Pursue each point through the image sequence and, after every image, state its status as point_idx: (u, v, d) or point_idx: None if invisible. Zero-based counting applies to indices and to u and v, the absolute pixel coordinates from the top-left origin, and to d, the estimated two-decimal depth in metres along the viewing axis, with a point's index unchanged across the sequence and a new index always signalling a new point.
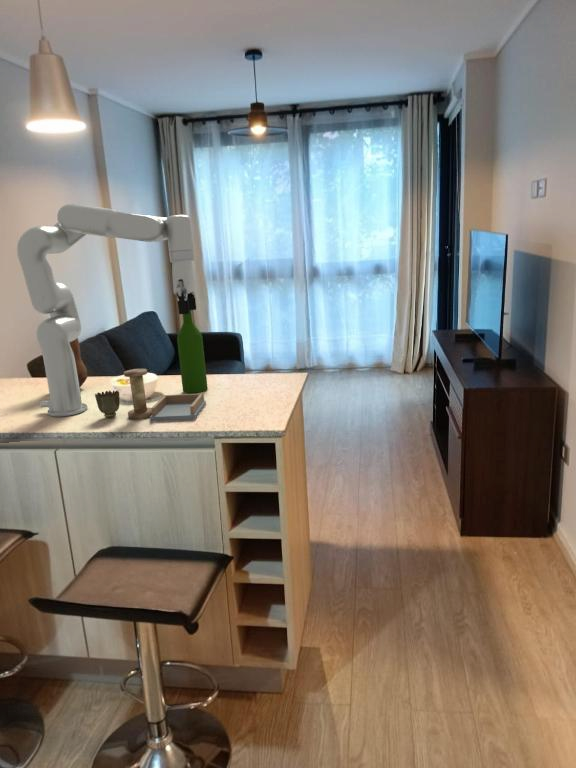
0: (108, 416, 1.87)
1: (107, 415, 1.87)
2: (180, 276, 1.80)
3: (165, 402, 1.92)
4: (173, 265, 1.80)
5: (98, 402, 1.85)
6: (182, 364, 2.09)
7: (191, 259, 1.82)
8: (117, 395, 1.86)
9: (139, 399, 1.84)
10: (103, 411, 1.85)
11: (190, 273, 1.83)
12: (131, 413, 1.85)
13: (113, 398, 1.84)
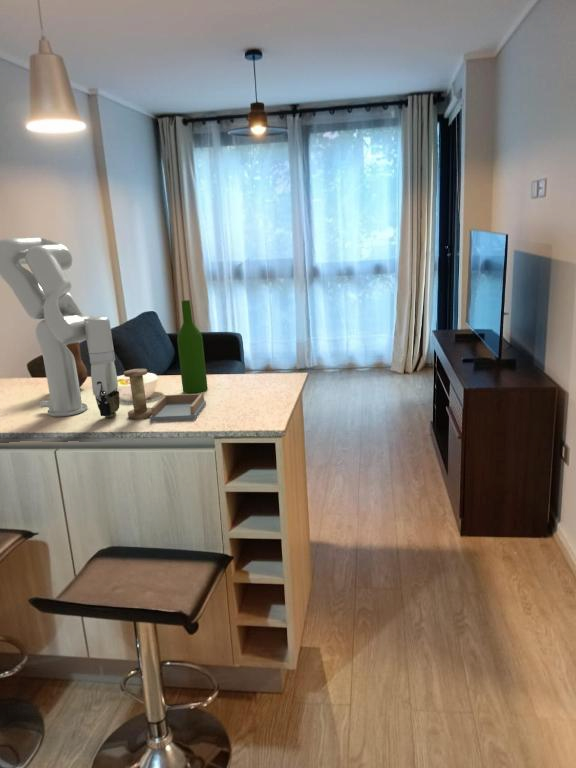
0: (108, 416, 1.86)
1: None
2: (99, 378, 1.80)
3: (165, 402, 1.92)
4: (92, 367, 1.80)
5: None
6: (182, 364, 2.09)
7: (110, 360, 1.82)
8: (117, 395, 1.86)
9: (139, 399, 1.84)
10: None
11: (110, 374, 1.83)
12: (131, 413, 1.85)
13: (113, 398, 1.84)
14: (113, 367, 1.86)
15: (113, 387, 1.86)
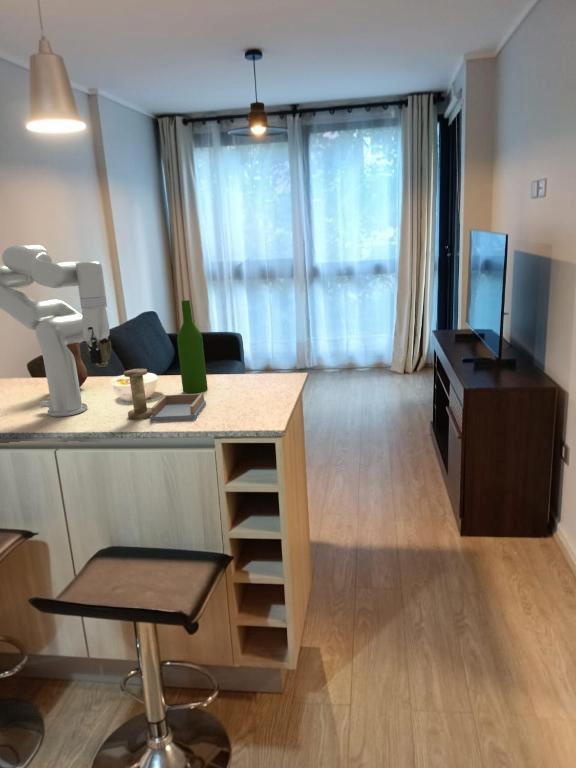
0: (99, 364, 1.83)
1: (98, 363, 1.83)
2: (90, 324, 1.76)
3: (165, 402, 1.92)
4: (83, 312, 1.76)
5: None
6: (182, 364, 2.09)
7: (102, 306, 1.78)
8: (108, 343, 1.82)
9: (139, 399, 1.84)
10: None
11: (101, 320, 1.80)
12: (131, 413, 1.85)
13: (104, 345, 1.80)
14: (105, 314, 1.82)
15: (104, 334, 1.82)
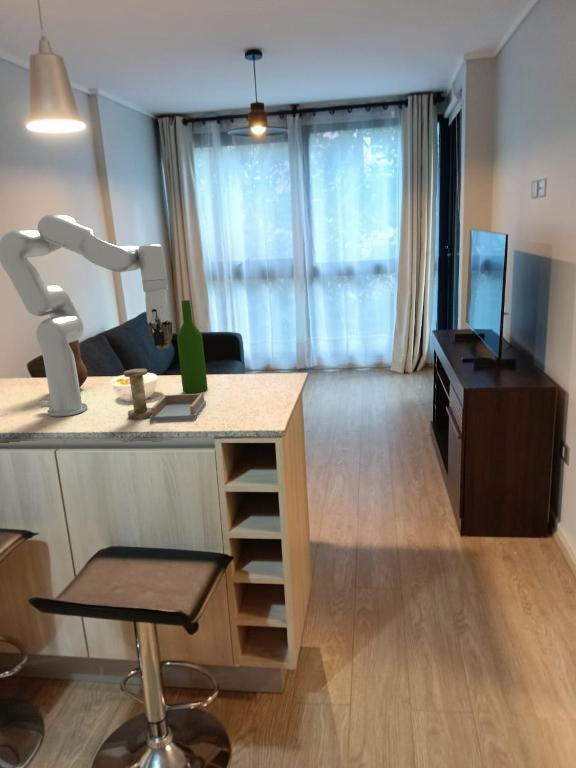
0: (162, 346, 1.85)
1: (161, 345, 1.84)
2: (153, 306, 1.78)
3: (165, 402, 1.92)
4: (146, 295, 1.78)
5: (152, 332, 1.82)
6: (182, 364, 2.09)
7: (164, 288, 1.80)
8: (171, 325, 1.84)
9: (139, 399, 1.84)
10: None
11: (164, 302, 1.82)
12: (131, 413, 1.85)
13: (167, 327, 1.82)
14: (166, 297, 1.84)
15: (166, 317, 1.84)
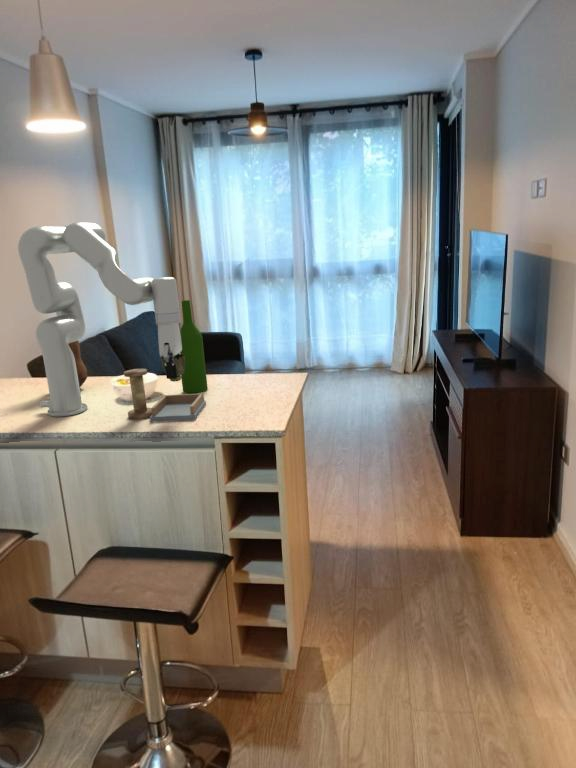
0: (174, 379, 1.83)
1: (173, 378, 1.83)
2: (166, 339, 1.77)
3: (165, 402, 1.92)
4: (159, 328, 1.77)
5: (164, 364, 1.81)
6: None
7: (177, 321, 1.79)
8: (183, 357, 1.82)
9: (139, 399, 1.84)
10: None
11: (176, 335, 1.80)
12: (131, 413, 1.85)
13: (179, 360, 1.81)
14: (178, 329, 1.83)
15: (179, 349, 1.83)
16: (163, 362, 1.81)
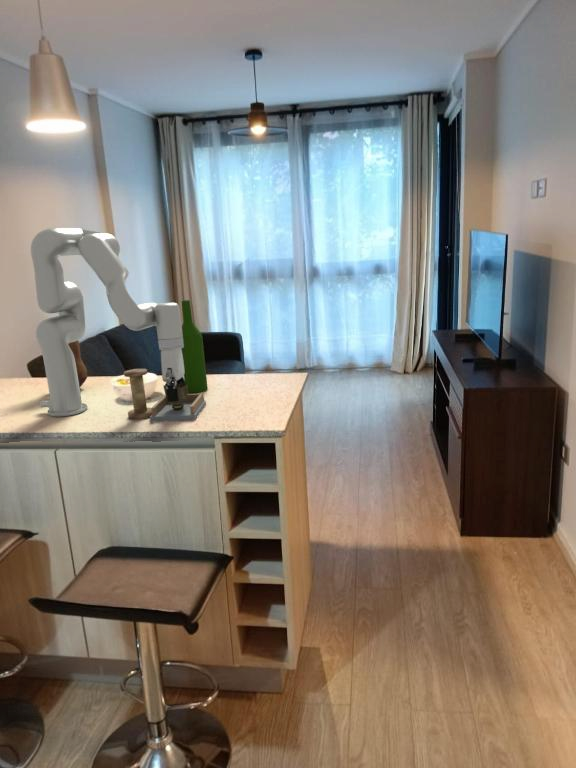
0: (176, 408, 1.85)
1: (175, 406, 1.85)
2: (169, 365, 1.79)
3: (165, 402, 1.92)
4: (162, 353, 1.79)
5: None
6: None
7: (180, 347, 1.81)
8: (186, 386, 1.84)
9: (139, 399, 1.84)
10: (172, 402, 1.84)
11: (179, 360, 1.82)
12: (131, 413, 1.85)
13: (182, 389, 1.83)
14: (181, 354, 1.85)
15: (181, 374, 1.85)
16: (166, 391, 1.83)
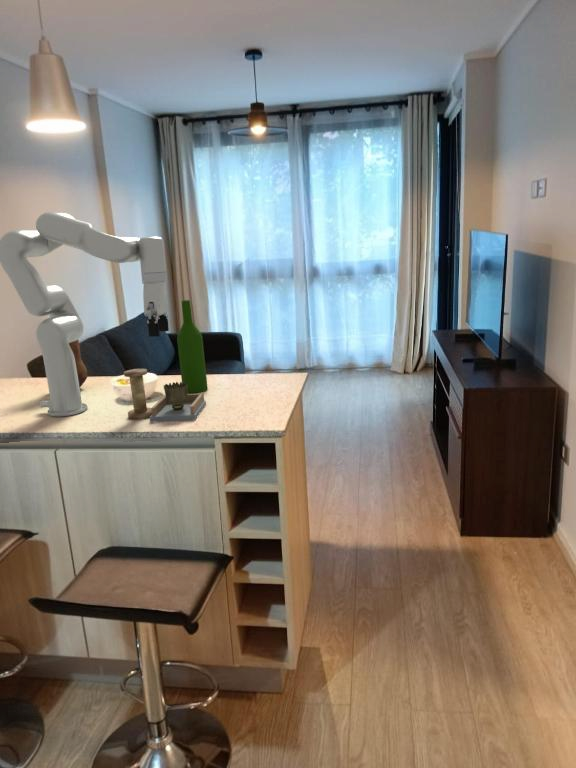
0: (176, 408, 1.85)
1: (176, 406, 1.85)
2: (151, 298, 1.78)
3: (165, 402, 1.92)
4: (144, 287, 1.78)
5: (167, 393, 1.83)
6: (182, 364, 2.09)
7: (163, 281, 1.80)
8: (186, 386, 1.84)
9: (139, 399, 1.84)
10: (172, 402, 1.84)
11: (162, 295, 1.81)
12: (131, 413, 1.85)
13: (182, 389, 1.83)
14: (164, 290, 1.84)
15: (164, 310, 1.84)
16: (166, 391, 1.83)
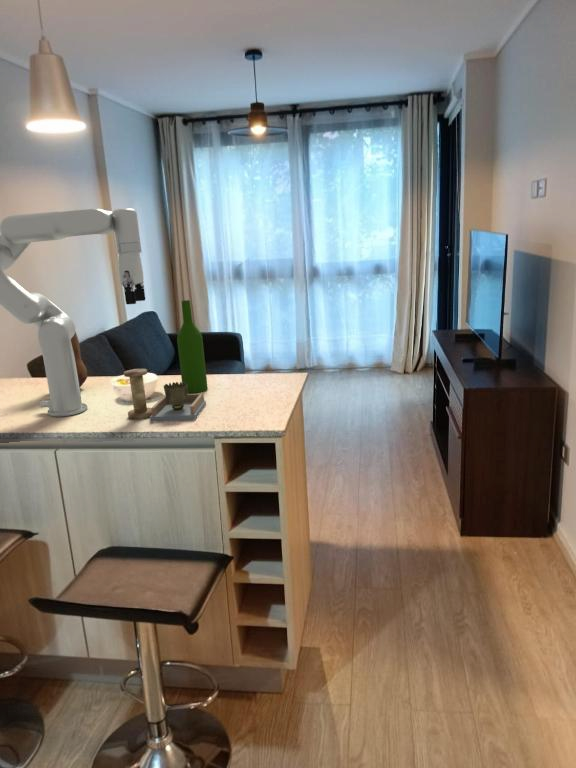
0: (176, 408, 1.85)
1: (176, 406, 1.85)
2: (126, 267, 1.87)
3: (165, 402, 1.92)
4: (119, 257, 1.86)
5: (167, 393, 1.83)
6: (182, 364, 2.09)
7: (137, 251, 1.88)
8: (186, 386, 1.84)
9: (139, 399, 1.84)
10: (172, 402, 1.84)
11: (137, 265, 1.90)
12: (131, 413, 1.85)
13: (182, 389, 1.83)
14: (139, 260, 1.92)
15: (139, 279, 1.92)
16: (166, 391, 1.83)
